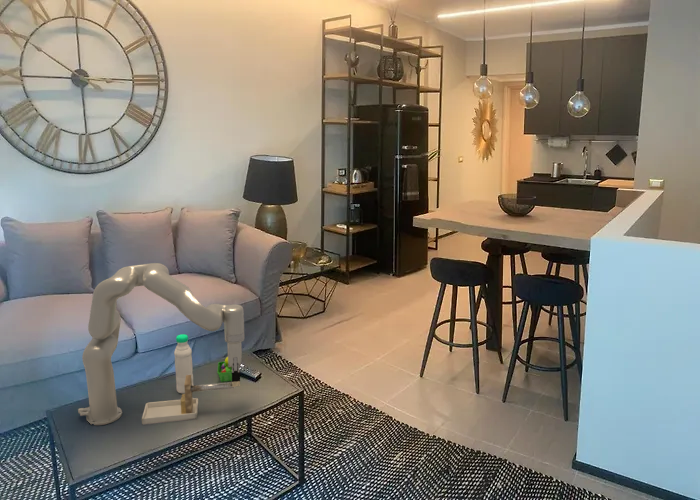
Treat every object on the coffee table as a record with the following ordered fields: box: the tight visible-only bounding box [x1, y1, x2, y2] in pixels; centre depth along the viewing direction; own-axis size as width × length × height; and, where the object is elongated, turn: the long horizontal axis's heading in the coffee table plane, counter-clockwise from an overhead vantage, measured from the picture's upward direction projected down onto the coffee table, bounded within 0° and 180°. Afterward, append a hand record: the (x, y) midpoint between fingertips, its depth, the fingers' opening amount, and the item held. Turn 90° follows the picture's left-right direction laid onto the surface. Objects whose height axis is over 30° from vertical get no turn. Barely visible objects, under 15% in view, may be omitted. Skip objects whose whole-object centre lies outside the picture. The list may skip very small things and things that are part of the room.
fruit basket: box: [216, 356, 232, 383], centre depth 240 cm, size 11×9×11 cm
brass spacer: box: [180, 393, 186, 414], centre depth 211 cm, size 2×6×6 cm, turn 12°
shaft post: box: [184, 375, 194, 414], centre depth 211 cm, size 2×8×14 cm, turn 13°
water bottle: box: [173, 333, 194, 394], centre depth 226 cm, size 7×7×25 cm
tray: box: [141, 397, 199, 426], centre depth 210 cm, size 20×12×2 cm, turn 103°
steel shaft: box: [191, 367, 241, 393], centre depth 211 cm, size 20×3×9 cm, turn 103°
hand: (236, 378), depth 213 cm, fingers closed on steel shaft, 3 cm apart
